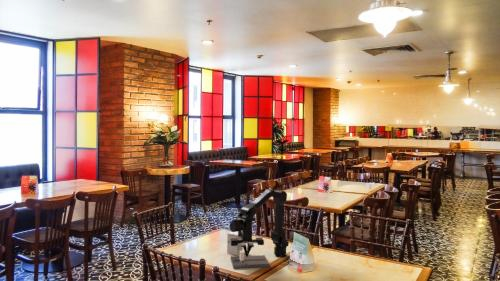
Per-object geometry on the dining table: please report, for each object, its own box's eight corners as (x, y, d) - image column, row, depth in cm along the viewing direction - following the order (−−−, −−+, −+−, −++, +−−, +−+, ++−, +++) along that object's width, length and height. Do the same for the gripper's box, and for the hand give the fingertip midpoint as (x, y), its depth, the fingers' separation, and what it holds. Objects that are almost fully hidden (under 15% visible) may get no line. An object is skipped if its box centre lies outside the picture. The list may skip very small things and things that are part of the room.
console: (264, 258, 228) (264, 255, 228) (269, 267, 214) (269, 263, 214) (230, 259, 225) (230, 256, 225) (233, 268, 211) (233, 265, 211)
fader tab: (243, 258, 221) (243, 250, 221) (243, 260, 217) (244, 252, 217) (239, 258, 221) (239, 250, 220) (240, 260, 217) (240, 252, 217)
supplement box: (226, 253, 236) (226, 233, 235) (232, 250, 242) (233, 230, 242) (237, 255, 233) (237, 234, 232) (243, 252, 239) (243, 231, 238)
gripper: (260, 225, 228) (260, 251, 229) (229, 225, 225) (228, 252, 226) (264, 230, 217) (263, 257, 218) (231, 231, 214) (230, 259, 215)
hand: (246, 256), depth 219 cm, fingers closed
